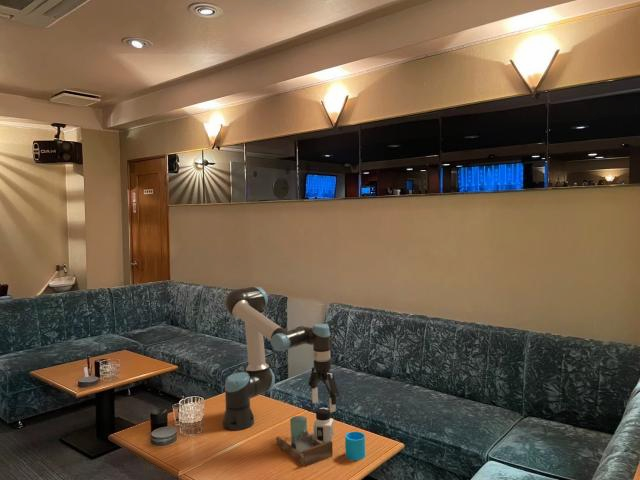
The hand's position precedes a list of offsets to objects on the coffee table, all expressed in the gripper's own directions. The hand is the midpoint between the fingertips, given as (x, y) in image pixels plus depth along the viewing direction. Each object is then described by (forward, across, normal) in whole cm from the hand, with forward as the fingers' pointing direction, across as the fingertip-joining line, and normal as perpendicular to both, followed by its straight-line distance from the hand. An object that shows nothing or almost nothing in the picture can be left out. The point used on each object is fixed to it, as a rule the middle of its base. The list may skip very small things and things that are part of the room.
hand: (323, 406), depth 204 cm
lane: (+14, +2, -13) cm, 20 cm away
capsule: (+14, 0, -13) cm, 19 cm away
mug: (+15, +18, +3) cm, 24 cm away
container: (+14, 0, 0) cm, 15 cm away
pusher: (+14, +4, -13) cm, 20 cm away
